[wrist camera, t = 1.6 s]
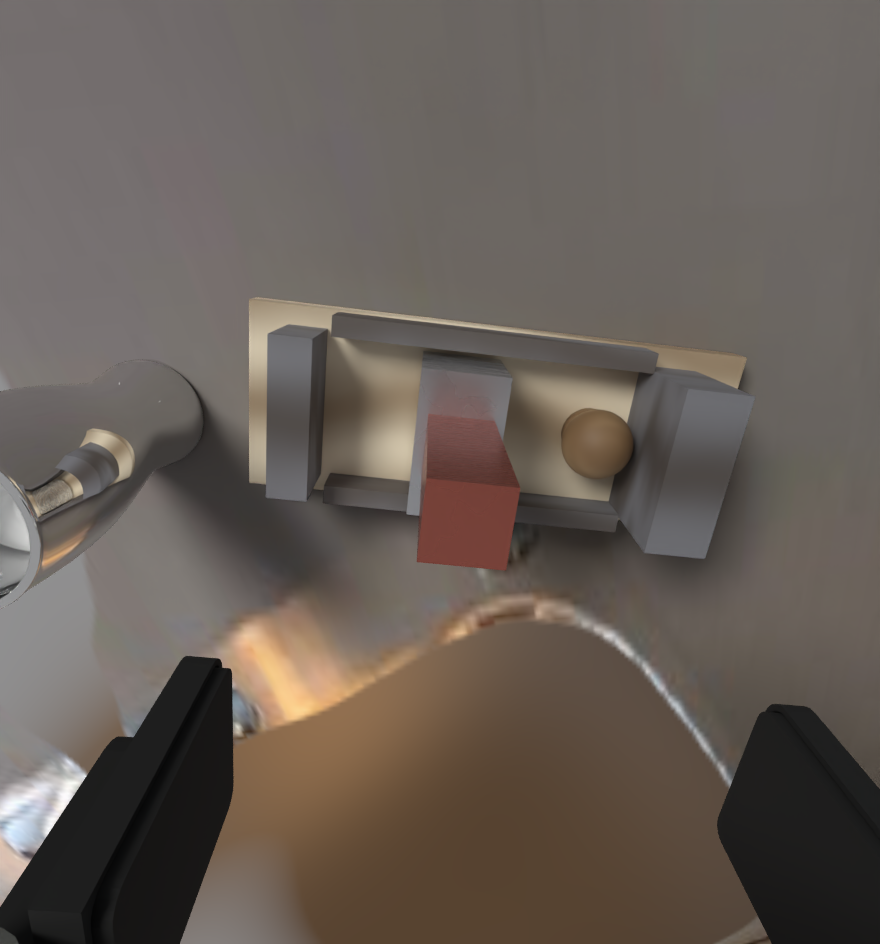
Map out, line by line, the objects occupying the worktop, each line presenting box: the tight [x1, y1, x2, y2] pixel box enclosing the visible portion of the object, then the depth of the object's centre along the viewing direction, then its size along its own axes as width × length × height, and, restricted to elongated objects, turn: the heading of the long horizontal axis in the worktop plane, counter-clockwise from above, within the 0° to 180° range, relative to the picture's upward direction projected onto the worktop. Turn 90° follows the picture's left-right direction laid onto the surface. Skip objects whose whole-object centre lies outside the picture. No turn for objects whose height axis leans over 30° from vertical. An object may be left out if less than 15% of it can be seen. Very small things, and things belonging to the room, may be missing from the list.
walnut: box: [561, 408, 633, 479], centre depth 30 cm, size 4×4×4 cm
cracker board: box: [249, 297, 755, 559], centre depth 29 cm, size 10×26×8 cm, turn 83°
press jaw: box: [407, 351, 520, 570], centre depth 25 cm, size 7×4×13 cm, turn 173°
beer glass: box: [0, 360, 204, 609], centre depth 25 cm, size 7×7×15 cm
